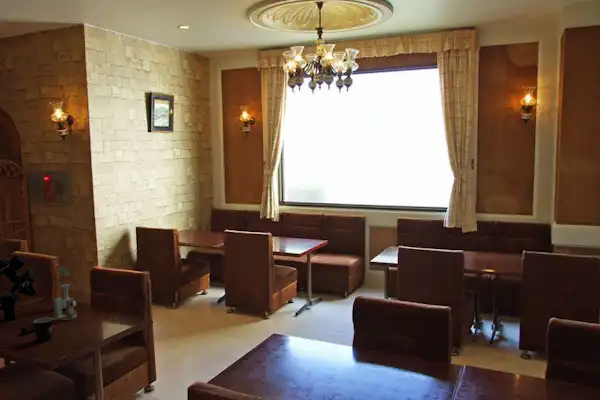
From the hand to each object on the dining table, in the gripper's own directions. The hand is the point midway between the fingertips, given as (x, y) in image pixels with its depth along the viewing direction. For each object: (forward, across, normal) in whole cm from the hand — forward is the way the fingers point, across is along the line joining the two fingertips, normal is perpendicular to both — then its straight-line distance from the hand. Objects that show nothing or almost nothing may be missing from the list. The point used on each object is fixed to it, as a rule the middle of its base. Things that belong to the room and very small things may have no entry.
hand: (34, 295), depth 279 cm
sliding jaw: (+17, 0, 0) cm, 17 cm away
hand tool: (+16, -16, +4) cm, 23 cm away
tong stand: (+21, 0, -1) cm, 21 cm away
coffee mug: (+24, -32, -5) cm, 40 cm away
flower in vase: (+15, +21, +4) cm, 26 cm away
